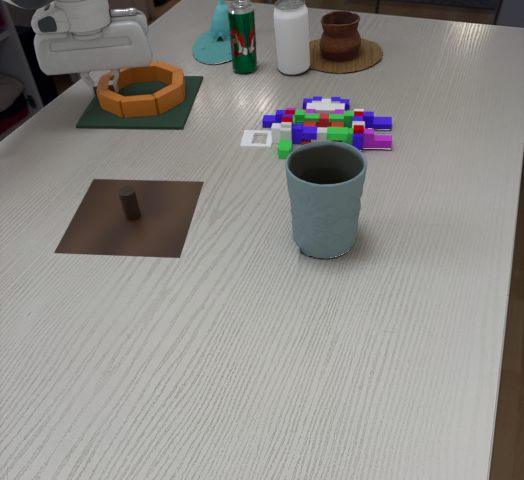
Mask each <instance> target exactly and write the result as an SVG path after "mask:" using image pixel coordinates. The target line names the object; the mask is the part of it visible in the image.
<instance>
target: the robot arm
mask: <svg viewBox="0 0 524 480" xmlns="http://www.w3.org/2000/svg"><path fill="white" fill-rule="evenodd" d="M2 1H3V2H6V3H7V4H10V5H12V6H15V7H18V8H20V9H25V10H28V11H29V10H31V11H33V10H35V12H34V13H33V15H32V18H31V22H30V26H31V28H32V30H33V32H34V33H35V36H34V38H33V46H34V51H35V55H36V60H37V62H38V66H39V68H40V70H41V72H42V73H43V74H45V75H46V76H56V75H69V74H77V73H78V74H79V75H80V79H81V80H82V81H83V82H84V83H85V84H86V85H87V86H88V87H89V89H90V92H91V95H92V96H95V95H97V92H96V91H97V87H98V83H99V81H94V80H93V78H92V77H91V76H90V72H103V71H109V72H110V71H111V74H112V75H114V79H113V80H112V81H109V83H108V86H109V89H110V91H113V92H115V93H118V92H119V88H118V84H117V81H118V77H119V73H120V69H125V68H136V67H147V66H149V65H150V63H151V62H153V49H152V45H151V42H150V39H149V35H148V33H149V22H148V18H147V16H146V14H145V13H144V12H143V11H142V10H139V9H137V7H128V8H112V9H111V8H110V5H109V0H2Z"/></svg>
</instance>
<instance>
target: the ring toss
mask: <svg viewBox="0 0 524 480" xmlns="http://www.w3.org/2000/svg"><path fill="white" fill-rule="evenodd" d="M204 182H205V181H197V180H156V179H155V180H153V179H150V180H149V179H115V178H114V179H109V178H107V179H106V178H93V179H92V181H91V183H90V185H89V187H88V189H86V192H85V193H84V196H83V198H82V199H81V201H80V204H79V205H78V207H77V209H76V211H75V212H74V214H73V216H72V218H71V220H70V222H69V224H68V226H67V227H66V229H65V231H64V233H63V236H62V237H61V239H60V241H59V242H58V245H57V246H56V247H55V249H54V254H62V255H63V254H64V255H65V254H66V255H89V256H92V255H93V256H116V257H117V256H118V257H141V258H164V259H165V258H166V259H167V258H168V259H180V258H181V256H182V253H183V250H184V247H185V243H186V240H187V237H188V233H189V230H190V227H191V223H192V221H193V218H194V214H195V211H196V208H197V204H198V202H199V199H200V196H201V192H202V190H203V185H204Z"/></svg>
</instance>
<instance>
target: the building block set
mask: <svg viewBox="0 0 524 480" xmlns="http://www.w3.org/2000/svg"><path fill="white" fill-rule="evenodd" d="M350 103H351V102H350V98H341V96H331V97H330V98H323V96H321V95H320V96H319V95H316V96H312V98H306V97H305V98H304V97H303V99H302V109H297V107H286V108H285V109H276V110H275V114H264V115H263V116H262V121H261V125H262V126H261V127H262V128H270V129H271V130H269V129H267V130H266V129H265V130H264V129H263V130H262V129H261V130H260V129H244V131H243V134H242V138H241V141H240V144H239V148H240V149H263V150H264V149H265V150H266V149H267V150H271V149H272V146H273V144H278V145H277V156H278V160H286V159H287V157H288V155H289V154H290V153H291V152H292V151H293V150H292V149H293V145H305V144H308V143H313V142H319V141H335V142H341V143H346V144H349V145H352V146H354V147H355V148H357V149H358V150H362V147H363V148H391V149H392V148H393V147H392V146H393V135H390V134H384V135H383V134H375V130H374V129H391V130H392V126H393V116H375V111H373V110H372V111H368V110H365V108H354V109H353V110H350ZM368 128H372V129H368ZM255 136H262V137H264V136H265V137H266V141H265V143H259V142H258V143H257V142H254V138H255ZM362 151H363V150H362Z"/></svg>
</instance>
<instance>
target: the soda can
mask: <svg viewBox="0 0 524 480" xmlns="http://www.w3.org/2000/svg"><path fill="white" fill-rule="evenodd" d="M228 7H229V8H228V21H229V33H230V44H231V56H232V61H231V65H232V70H233V71H234V72H235V73H236V74H240V75H246V74H247V75H248V74H251V73H253V72H255V71H256V69H257V68H258V53H257V36H256V17H255V7H254V6H253V2H252V1H251V0H232V1H229V3H228Z"/></svg>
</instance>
